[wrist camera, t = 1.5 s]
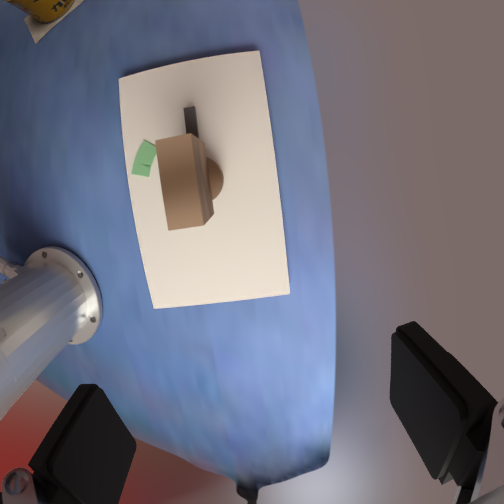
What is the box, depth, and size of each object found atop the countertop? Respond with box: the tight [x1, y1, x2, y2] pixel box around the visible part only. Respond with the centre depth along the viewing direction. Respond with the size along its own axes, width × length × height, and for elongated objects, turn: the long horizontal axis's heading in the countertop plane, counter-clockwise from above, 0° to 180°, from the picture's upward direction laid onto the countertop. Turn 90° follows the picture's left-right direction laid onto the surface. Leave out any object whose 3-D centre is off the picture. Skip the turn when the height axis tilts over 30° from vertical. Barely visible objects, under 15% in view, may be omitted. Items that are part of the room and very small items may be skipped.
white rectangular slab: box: [119, 51, 290, 309], centre depth 27 cm, size 24×14×2 cm, turn 7°
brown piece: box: [155, 106, 224, 231], centre depth 22 cm, size 10×4×8 cm, turn 7°
